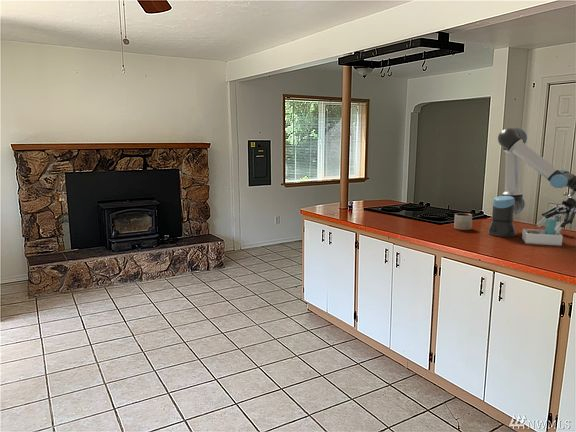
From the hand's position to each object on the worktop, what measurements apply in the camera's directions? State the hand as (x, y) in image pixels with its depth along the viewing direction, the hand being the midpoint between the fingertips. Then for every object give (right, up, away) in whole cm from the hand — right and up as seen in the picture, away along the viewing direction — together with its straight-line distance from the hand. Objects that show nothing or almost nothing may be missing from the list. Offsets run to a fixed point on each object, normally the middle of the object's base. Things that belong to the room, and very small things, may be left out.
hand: (546, 228), depth 243 cm
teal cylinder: (+3, -7, +2) cm, 8 cm away
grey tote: (-1, -8, +3) cm, 9 cm away
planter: (-30, -2, +42) cm, 52 cm away
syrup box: (+19, -4, +25) cm, 32 cm away
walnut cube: (-5, -7, +4) cm, 10 cm away
